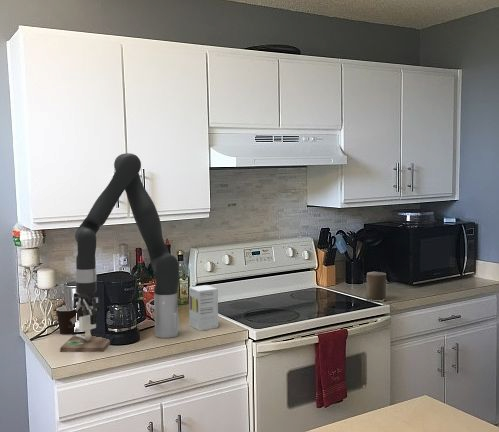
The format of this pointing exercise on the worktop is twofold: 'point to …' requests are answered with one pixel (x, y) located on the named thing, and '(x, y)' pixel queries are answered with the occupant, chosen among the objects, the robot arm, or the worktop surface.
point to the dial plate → (85, 344)
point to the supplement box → (203, 307)
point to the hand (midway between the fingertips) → (86, 322)
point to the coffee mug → (66, 320)
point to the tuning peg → (85, 327)
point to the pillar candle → (376, 286)
